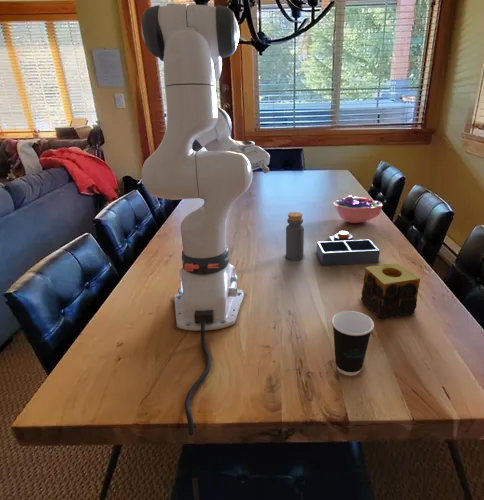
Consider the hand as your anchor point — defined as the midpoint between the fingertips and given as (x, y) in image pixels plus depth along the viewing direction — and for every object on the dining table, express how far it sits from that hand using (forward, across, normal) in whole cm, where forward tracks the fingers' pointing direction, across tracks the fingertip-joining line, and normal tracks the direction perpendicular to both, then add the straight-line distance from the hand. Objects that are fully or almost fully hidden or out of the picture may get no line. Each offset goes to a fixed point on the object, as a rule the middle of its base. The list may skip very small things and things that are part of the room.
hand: (256, 175), depth 121 cm
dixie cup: (+64, -26, 0) cm, 69 cm away
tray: (+33, +14, +18) cm, 40 cm away
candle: (+58, -1, +6) cm, 58 cm away
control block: (+26, +23, +22) cm, 41 cm away
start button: (+25, +23, +20) cm, 39 cm away
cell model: (+15, +45, +30) cm, 56 cm away
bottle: (+22, +2, +20) cm, 30 cm away
